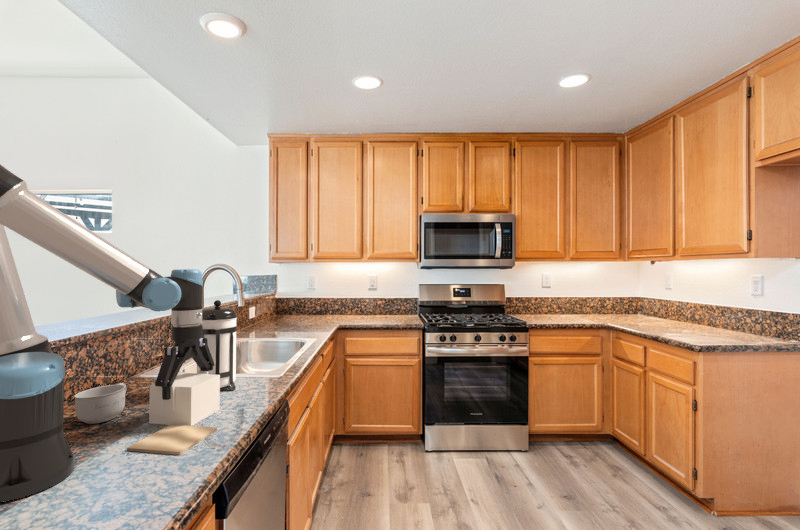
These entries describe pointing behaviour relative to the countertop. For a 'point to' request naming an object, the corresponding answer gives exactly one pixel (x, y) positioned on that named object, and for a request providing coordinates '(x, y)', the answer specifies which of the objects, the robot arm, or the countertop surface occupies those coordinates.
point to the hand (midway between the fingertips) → (187, 401)
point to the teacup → (100, 403)
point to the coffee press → (221, 342)
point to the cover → (187, 400)
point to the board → (172, 439)
